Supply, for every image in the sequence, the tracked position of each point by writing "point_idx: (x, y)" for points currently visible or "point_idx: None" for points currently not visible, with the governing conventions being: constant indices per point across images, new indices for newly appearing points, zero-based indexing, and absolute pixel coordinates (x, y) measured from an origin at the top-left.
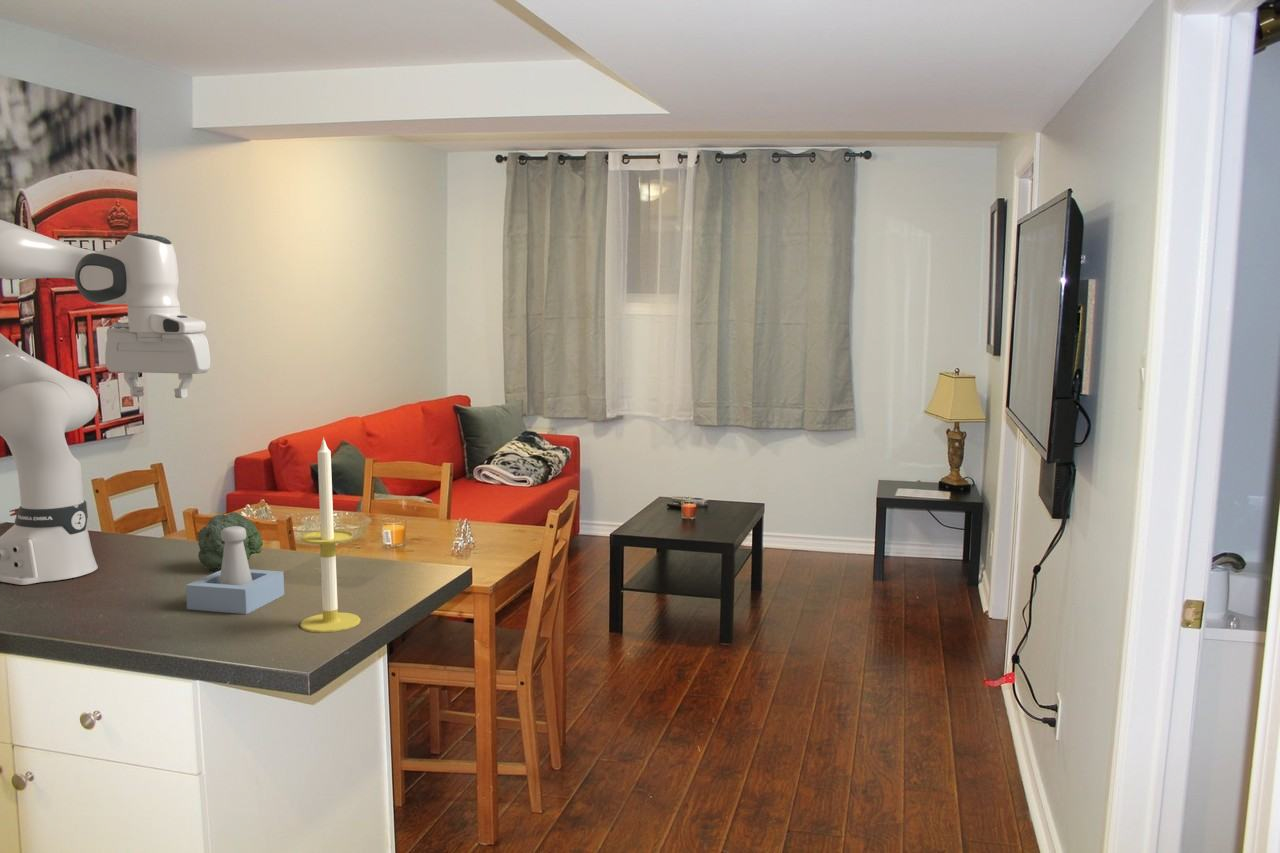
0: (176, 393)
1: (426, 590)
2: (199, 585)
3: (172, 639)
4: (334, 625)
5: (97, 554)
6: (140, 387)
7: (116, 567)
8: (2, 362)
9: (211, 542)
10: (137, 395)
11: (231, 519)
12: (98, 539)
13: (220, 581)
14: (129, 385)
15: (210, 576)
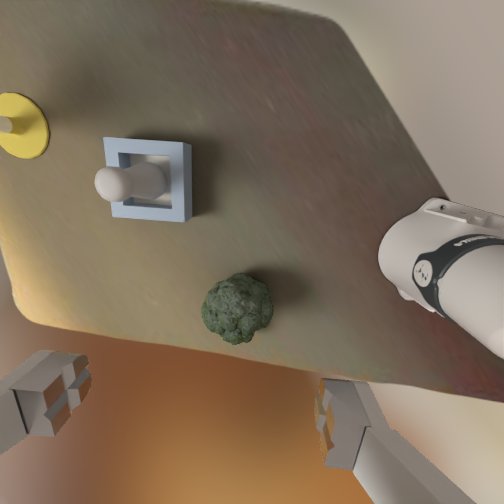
0: (53, 365)
1: (8, 248)
2: (165, 143)
3: (136, 34)
4: (3, 112)
5: (414, 321)
6: (329, 446)
7: (363, 279)
8: None
9: (240, 284)
10: (324, 380)
11: (222, 316)
12: (445, 372)
13: (155, 167)
14: (402, 442)
15: (178, 183)
